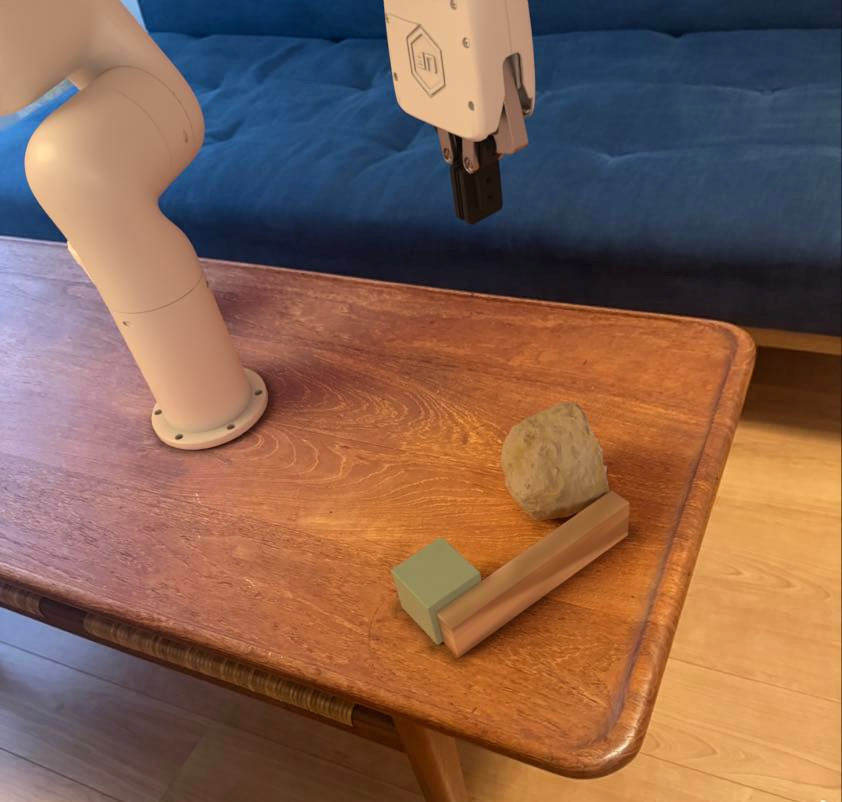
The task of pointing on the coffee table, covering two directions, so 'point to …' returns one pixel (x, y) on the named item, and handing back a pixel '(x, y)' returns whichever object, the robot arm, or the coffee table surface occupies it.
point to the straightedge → (533, 573)
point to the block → (433, 583)
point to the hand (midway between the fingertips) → (479, 213)
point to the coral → (554, 463)
